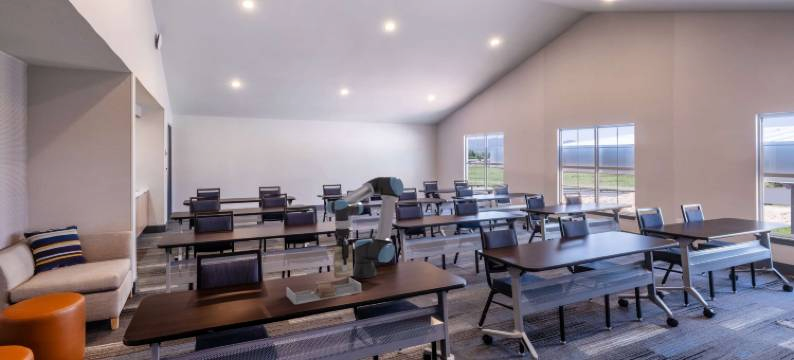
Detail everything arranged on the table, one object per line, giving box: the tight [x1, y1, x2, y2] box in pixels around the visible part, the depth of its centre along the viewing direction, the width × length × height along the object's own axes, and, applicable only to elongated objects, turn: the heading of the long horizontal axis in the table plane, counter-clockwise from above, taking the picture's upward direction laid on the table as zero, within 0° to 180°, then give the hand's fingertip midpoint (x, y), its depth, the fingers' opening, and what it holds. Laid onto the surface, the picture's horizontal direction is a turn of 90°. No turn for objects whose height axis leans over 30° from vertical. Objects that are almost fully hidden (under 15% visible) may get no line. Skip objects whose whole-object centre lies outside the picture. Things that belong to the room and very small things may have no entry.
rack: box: [286, 276, 362, 305], centre depth 235 cm, size 16×37×6 cm, turn 118°
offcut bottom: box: [313, 288, 335, 298], centre depth 235 cm, size 12×8×2 cm, turn 28°
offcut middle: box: [314, 285, 336, 295], centre depth 235 cm, size 11×7×2 cm
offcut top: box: [315, 280, 332, 290], centre depth 235 cm, size 9×6×2 cm
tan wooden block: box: [332, 244, 354, 279], centre depth 240 cm, size 4×10×17 cm, turn 118°
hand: (343, 269), depth 240 cm, fingers closed on tan wooden block, 3 cm apart
